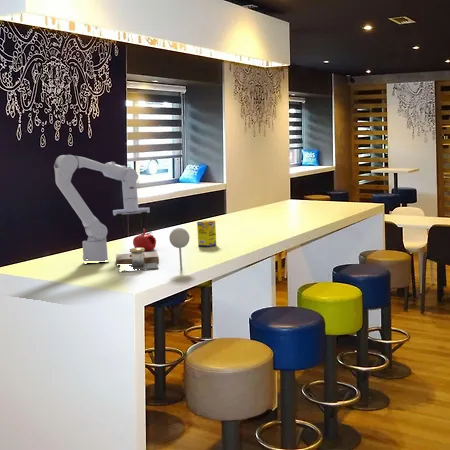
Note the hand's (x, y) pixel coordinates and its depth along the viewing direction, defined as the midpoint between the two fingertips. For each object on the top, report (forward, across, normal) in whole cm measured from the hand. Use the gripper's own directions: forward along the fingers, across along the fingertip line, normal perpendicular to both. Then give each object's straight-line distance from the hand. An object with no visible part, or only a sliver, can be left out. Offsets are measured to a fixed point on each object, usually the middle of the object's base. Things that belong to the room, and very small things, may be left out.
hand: (133, 231), depth 248 cm
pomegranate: (+11, +5, +15) cm, 19 cm away
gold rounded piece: (+10, +1, -24) cm, 26 cm away
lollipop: (+11, +16, -33) cm, 38 cm away
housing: (+10, +1, -11) cm, 15 cm away
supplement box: (+11, +32, +14) cm, 36 cm away
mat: (+10, +1, -24) cm, 26 cm away
